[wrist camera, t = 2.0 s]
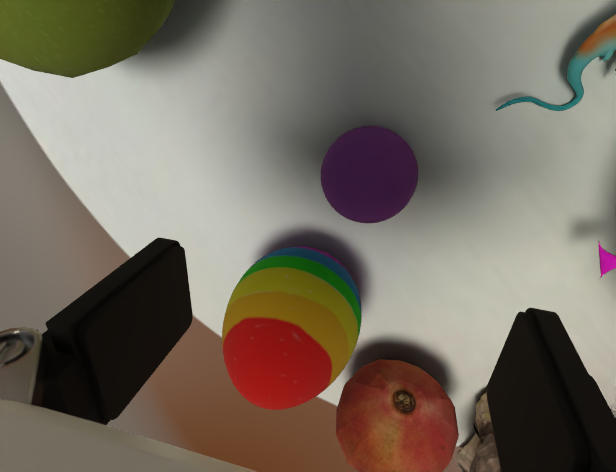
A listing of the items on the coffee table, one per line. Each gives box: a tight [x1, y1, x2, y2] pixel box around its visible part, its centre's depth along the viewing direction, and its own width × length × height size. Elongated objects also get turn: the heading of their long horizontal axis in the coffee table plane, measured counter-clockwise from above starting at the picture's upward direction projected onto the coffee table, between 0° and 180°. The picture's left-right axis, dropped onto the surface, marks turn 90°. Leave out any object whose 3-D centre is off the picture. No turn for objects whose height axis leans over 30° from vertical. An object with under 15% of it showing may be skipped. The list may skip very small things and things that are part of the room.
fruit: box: [336, 359, 459, 472], centre depth 26 cm, size 8×8×10 cm
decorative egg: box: [222, 246, 361, 410], centre depth 22 cm, size 8×8×10 cm
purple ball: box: [321, 126, 418, 223], centre depth 19 cm, size 5×5×5 cm
